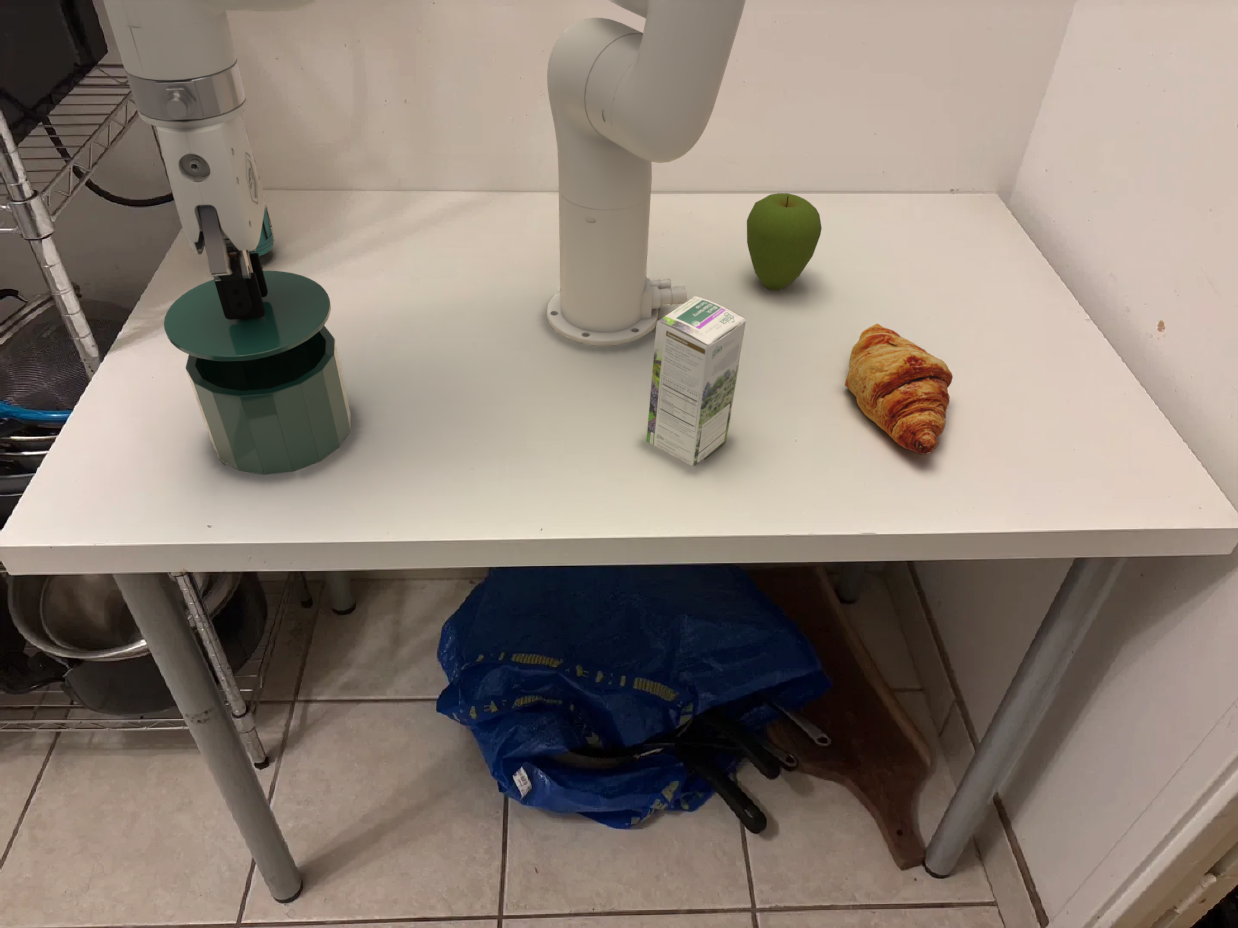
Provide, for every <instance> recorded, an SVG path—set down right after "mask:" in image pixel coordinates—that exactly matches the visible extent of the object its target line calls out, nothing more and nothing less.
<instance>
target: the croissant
mask: <svg viewBox="0 0 1238 928" xmlns="http://www.w3.org/2000/svg"><path fill="white" fill-rule="evenodd" d="M858 339H859V340H858V341H857V342H856V343H855V344H854V345H853V346H852V349H851V352H850V355H849V361H848V367H849V368H848V374H847V375H846V377H845V382H844V386H845V387H846V388H847V389H848V390H849V391H850V392H851V394H853V396H854V397H856V398H855V399H856V403H857V407H858V408H859V409H860V411H862V413H863V415H864V416H866V417H867V418H868V419H869V420H871V421H872V422H873V423H875V424H876V425H877V426H878V427H879V428H880V429H881V430H883V431H884V432H885V433H886V434H887V435H888V436H889V437H890V438H891V439H892V440H893V441H894V442H895V443H896V444H897V445H898V446H900V447H902V448H904V449H906V450H909V451H912V452H914V453H918V454H919V455H927V454H931V453H933V452H934V451H935V450H936V447H937V446H938V445H939V441H938V440H937V439H938V438H939V437H940V436H941V435H942V434H943V433H944V430H945V427H946V423H947V421H946V417H947V415H946V412H947V410H948V407H949V404H950V394H949V390H948V389H949V387H950V386H951V384H952V383H953V372H952V371H951V370H950V369H949V367H948V364H947V363H946V362H945V361H944V360H942V359H941V358H939V357H937V356H935V355H933V354H931V353H929V352H928V351H927V350H925V349H924V348H922V347H921V346H919V345H917V344H915V343H914V342H912V341H910V340H908V339H906V338H905V337H902V336H901V334H899V333H897V332H896V331H895V330H893V329H890V328H887V327H883V326H882V325H880V324H879V323H875V324H873V325H871V326H869V327H868V328H866V329H864V330H863V331H862V332H861V333H860V335H859V338H858Z"/></svg>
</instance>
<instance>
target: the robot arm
mask: <svg viewBox="0 0 1238 928" xmlns="http://www.w3.org/2000/svg"><path fill="white" fill-rule="evenodd" d="M319 1H320V0H102V2H103V5H104V8H105V11H106V15H107V18H108V21H109V24H110V28H111V30H112V34H113V37H114V41H115V44H116V47H117V49H118V52H119V55H120V59H121V63H122V65H123V68H124V72H125V75H126V79H127V82H128V85H129V88H130V91H131V94H132V98H133V101H134V104H135V108H136V110H137V114H138V116H139V118H140V120H141V121H142V122H144V123H146V124H147V125H151V126H152V127H153V126H154V127H155V128H156V132H157V136H158V141H159V145H160V149H161V157H162V159H163V162H164V166H165V170H166V174H167V178H168V182H169V185H170V189H171V193H172V196H173V201H174V204H175V207H176V211H177V214H178V217H179V221H180V224H181V227H182V230H183V233H184V236H185V239H186V242H187V244H188V246H189V248H190V250H191V251H192V252H194V253H195V254H197V255H199V256H200V255H202V254H203V252H204V249H205V253H206V256H207V260H208V267H209V272H210V275H211V277H212V278H213V279H214V282H215V285H216V288H217V292H218V295H219V299H220V302H221V305H222V309H223V312H224V316H225V318H226V319H229V320H234V319H246V318H259V317H263V316H264V315H265V308H264V304H263V300H262V297H266V296H267V294H268V289H267V285H266V281H265V277H264V273H263V271H264V270H263V264H262V260H261V258H260V257H261V256H259V253H250V252H255V251H256V247H257V245H258V243H259V239H260V234H261V229H262V223H263V217H264V210H265V207H266V198H265V192H264V189H263V185H262V181H261V178H260V175H259V171H257V170H258V167H257V163H256V159H255V157H254V156H253V155H254V154H253V149H252V146H251V142H250V139H249V136H248V131H247V128H246V125H245V122H244V118H243V116H242V114H243V113H244V112H245V111H246V110H247V108H248V100H247V96H246V92H245V88H244V84H243V79H242V75H241V70H240V66H239V62H238V58H237V54H236V49H235V45H234V41H233V36H232V32H231V28H230V24H229V20H228V19H229V18H228V15H227V12H228V11H231V12H232V11H237V12H238V11H239V12H241V11H247V12H293V11H297V10H301V9H305V8H308V7H311V6H313V5H314V4H316V3H318V2H319ZM608 1H609V2H611V3H612V4H614V5H616V6H618V7H620V8H622V9H624V10H626V11H629V12H631V13H633V14H635V15H637V16H639V17H642V18H644V19H645V22H644V26H643V32H642V31H640V30H637V29H635V28H634V27H631V26H629V25H627V24H625V23H622V22H619V21H617V20H614V19H611V18H603V17H589V18H584V19H580V20H578V21H576V22H574V23H572V24H571V25H569V26H568V27H567V28H566V29H565V30H564V31H562V33H561V34H559V36H558V38H557V39H556V40H555V43H554V45H553V47H552V48H551V51H550V55H549V59H548V64H547V73H546V79H547V80H546V81H547V83H546V84H547V92H548V100H549V106H550V110H551V117H552V122H553V126H554V133H555V139H556V151H557V172H558V239H559V244H558V245H559V290H558V291H557V292H556V293H555V294H554V295H553V296H551V298H550V300H549V301H548V302H547V306H546V319H547V321H548V323H549V325H550V327H551V328H552V329H553V330H554V331H555V332H556V333H557V334H559V335H560V336H562V337H564V338H566V339H568V340H570V341H573V342H576V343H579V344H583V345H589V346H597V347H598V346H599V347H605V346H619V345H625V344H628V343H632V342H634V341H637V340H639V339H641V338H643V337H645V336H647V335H648V334H649V333H650V332H653V331H654V329H656V325H657V321H658V320H659V319H658V318H659V317H658V316H659V315H658V314H659V313H658V311H659V309H660V307H661V306H666V305H671V306H673V305H674V306H675V305H682V304H684V303H685V302H687V301H688V290H687V287H686V286H685V285H684V286H675V287H672V281H671V279H670V277H669V278H659V279H652V280H651V279H650V277H647V270H648V254H649V253H648V252H649V235H650V233H649V232H650V213H651V199H652V198H651V195H652V183H653V182H652V181H653V175H652V174H653V167H652V166H653V165H652V163H657V164H664V163H670V162H674V161H676V160H678V159H680V158H682V157H683V156H685V155H686V154H687V153H689V152H690V150H691V149H693V148H694V146H695V145H696V144H697V143H698V141H699V140H700V138H701V137H702V135H703V133H704V132H705V130H706V127H708V126H707V125H708V124H709V122H710V118H711V116H712V114H713V111H714V108H715V105H716V102H717V98H718V95H719V93H720V89H721V86H722V83H723V79H724V77H725V76H724V75H725V73H726V69H727V66H728V63H729V60H730V56H731V52H732V49H733V46H734V42H735V39H736V36H737V32H738V29H739V25H740V23H741V19H742V16H743V12H744V8H745V5H746V1H747V0H608ZM246 131H247V132H246ZM246 250H248V252H249V256H250V260H251V264H252V268H253V272H252V273H251V270H250V265H249V261H248V257H247V253H246ZM231 252H236V253H237V257H238V260H237V259H236V258H235V257H228V255H227V253H231Z"/></svg>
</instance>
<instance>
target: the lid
mask: <svg viewBox="0 0 1238 928" xmlns="http://www.w3.org/2000/svg"><path fill="white" fill-rule="evenodd" d="M246 253H247V257H248V261H249V265H250V270H251V273H252V272H253V268H252V264H251V260H250V256H249V252H248V250H246ZM227 255H228V257H235V258H236V259H237V260H238V257H237V253H236V252H231V253H227ZM263 273H264V277H265V281H266V285H267V289H268V294H267V296H266V297H262V300H263V304H264V308H265V315H264V316H263V317H259V318H246V319H234V320H229V319H226V318H225V316H224V312H223V309H222V305H221V302H220V299H219V295H218V292H217V288H216V285H215V282H214V278H213V279H210V280H208V281H205V282H203V283H201V284H199V285H197V286H195V287H193V288H191V289H189V290H188V291H186V292H185V293H183V294H182V295H181V296H179V297H178V298H177V299H175V301H174V302H172V304H171V305H170V306H169V308H168V310H167V311H166V313H165V316H164V320H163V327H164V332H165V334H166V337H167V339H168V340H169V342H170V343H171V345H173V346H174V347H175V348H176V349H177V350H179V351H181V352H182V353H185V354H186V355H188V356H189V355H191V356H195V357H198V358H202V359H208V360H215V361H244V360H252V359H258V358H263V357H267V356H271V355H275V354H278V353H281V352H284V351H287V350H289V349H291V348H294V347H296V346H298V345H300V344H302V343H303V342H305V341H307V340H308V339H310V338H311V337H313V336H314V335H315V334H316V333H317V332H319V330H320V329H321V328H322V327H323V326H326V323H327V322H328V320H329V318H330V315H331V310H332V305H331V298H330V297H329V294H328V292H327V290H326V289H325V288H324V287H323V286H322V285H321V284H320V283H318V282H316V280H313V279H311V278H309V277H307V276H305V275H301V274H298V273H293V272H289V271H280V270H263Z"/></svg>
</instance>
